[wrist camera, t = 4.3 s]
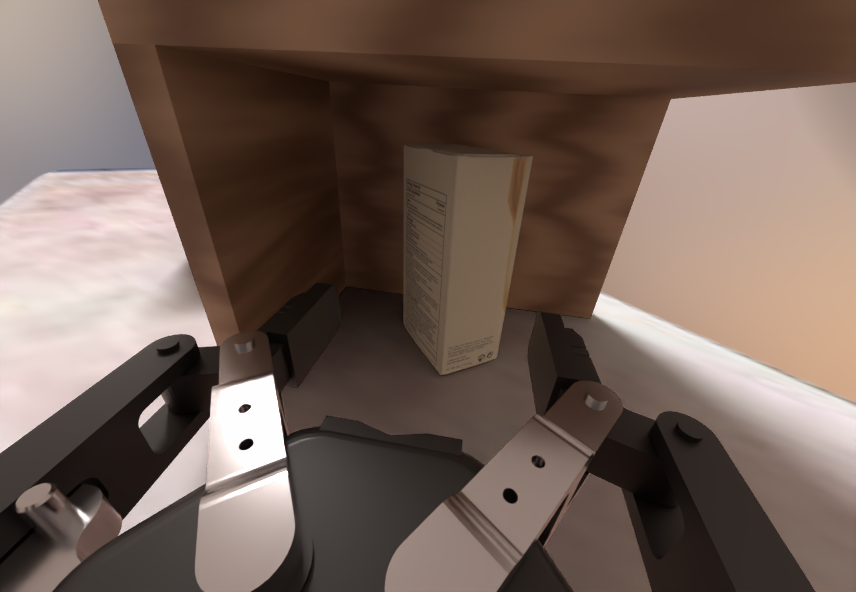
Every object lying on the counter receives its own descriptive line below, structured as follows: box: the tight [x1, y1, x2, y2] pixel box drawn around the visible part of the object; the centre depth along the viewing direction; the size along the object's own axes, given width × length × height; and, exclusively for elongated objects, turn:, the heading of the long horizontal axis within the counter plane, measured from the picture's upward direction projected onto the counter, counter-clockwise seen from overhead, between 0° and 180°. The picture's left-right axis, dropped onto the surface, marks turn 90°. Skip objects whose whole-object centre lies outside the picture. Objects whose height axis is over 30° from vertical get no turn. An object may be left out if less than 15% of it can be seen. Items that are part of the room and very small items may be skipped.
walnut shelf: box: [98, 0, 856, 346], centre depth 18 cm, size 22×14×16 cm, turn 80°
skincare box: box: [403, 143, 533, 375], centre depth 19 cm, size 6×4×12 cm
